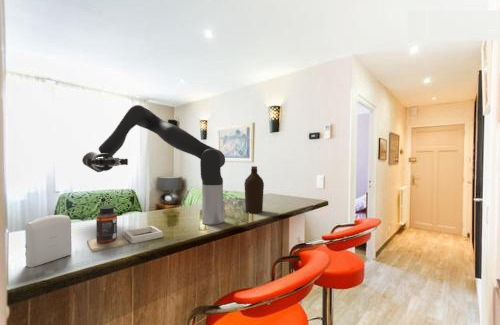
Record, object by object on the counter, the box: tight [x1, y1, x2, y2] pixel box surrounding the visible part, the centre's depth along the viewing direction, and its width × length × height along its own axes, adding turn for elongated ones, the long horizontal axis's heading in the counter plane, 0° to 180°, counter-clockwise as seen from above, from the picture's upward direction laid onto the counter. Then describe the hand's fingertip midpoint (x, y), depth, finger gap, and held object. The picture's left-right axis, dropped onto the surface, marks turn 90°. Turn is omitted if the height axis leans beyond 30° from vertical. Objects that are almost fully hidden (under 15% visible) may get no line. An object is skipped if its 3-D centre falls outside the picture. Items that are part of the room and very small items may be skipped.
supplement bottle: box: [95, 205, 118, 243], centre depth 81 cm, size 6×6×11 cm
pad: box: [86, 234, 129, 252], centre depth 81 cm, size 10×11×1 cm
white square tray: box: [123, 225, 164, 244], centre depth 89 cm, size 10×10×2 cm
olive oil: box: [244, 165, 265, 214], centre depth 133 cm, size 11×11×25 cm
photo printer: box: [24, 214, 72, 268], centre depth 67 cm, size 10×4×12 cm, turn 156°
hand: (111, 161), depth 93 cm, fingers open, 8 cm apart
